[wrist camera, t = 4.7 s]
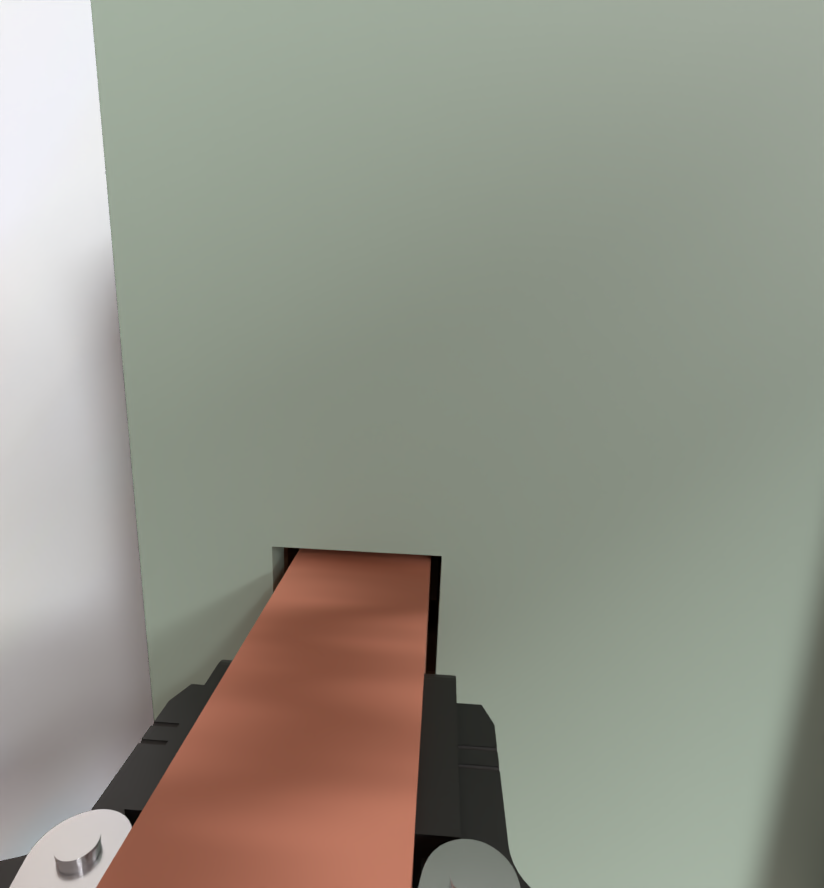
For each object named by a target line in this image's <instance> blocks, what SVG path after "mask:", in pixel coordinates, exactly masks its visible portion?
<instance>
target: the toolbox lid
mask: <svg viewBox="0 0 824 888" xmlns="http://www.w3.org/2000/svg"><path fill="white" fill-rule="evenodd" d="M91 9H92V21H93V32H94V44H95V55H96V66H97V78H98V89H99V100H100V112H101V123H102V135H103V146H104V157H105V169H106V180H107V192H108V203H109V214H110V226H111V237H112V248H113V260H114V271H115V283H116V294H117V305H118V317H119V328H120V340H121V351H122V362H123V374H124V385H125V396H126V408H127V419H128V431H129V442H130V453H131V465H132V476H133V488H134V499H135V510H136V522H137V533H138V544H139V556H140V567H141V579H142V590H143V601H144V613H145V624H146V636H147V647H148V658H149V670H150V681H151V692H152V704H153V715H154V721H155V720H156V718H157V717H158V715H159V714H160V713H161V711H162V710H163V708H164V707H165V705H166V704H167V703H168V701H169V700H171V699H172V698H173V697H175V696H176V695H177V694H179V693H180V692H181V691H183V690H184V689H185V688H187V687H188V686H189V685H191V684H199V685H205V683H206V682H207V680H208V678H209V677H210V675H211V674H212V672H213V671H214V669H215V668H216V666H217V665H218V663H219V662H220V661H221V660H233V659H234V657H235V656H236V654H237V652H238V651H239V649H240V647H241V646H242V644H243V642H244V641H245V639H246V637H247V636H248V634H249V632H250V631H251V629H252V627H253V626H254V624H255V622H256V621H257V619H258V618H259V616H260V614H261V613H262V611H263V609H264V608H265V606H266V604H267V603H268V601H269V599H270V598H271V596H272V594H273V593H274V591H275V589H276V588H277V586H278V584H279V583H280V581H281V579H282V578H283V576H284V547H289V548H307V549H325V550H343V551H361V552H378V553H396V554H414V555H432V556H441V569H440V589H439V608H438V628H437V647H436V667H435V674H440V675H455V676H456V696H457V703H465V704H479V705H482V706H483V708H484V709H485V711H486V712H487V714H488V715H489V717H490V719H491V720H492V722H493V723H494V725H495V734H496V742H497V752H498V759H499V771H500V776H501V785H502V794H503V802H504V811H505V819H506V828H507V836H508V845H509V850H510V855H511V858H512V861H513V863H514V865H515V867H516V869H517V871H518V873H519V874H520V875H521V877H522V878H523V880H524V881H525V882H526V883H527V884H528V885H529V886H530V888H824V0H91Z"/></svg>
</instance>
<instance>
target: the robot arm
mask: <svg viewBox="0 0 824 888" xmlns="http://www.w3.org/2000/svg"><path fill="white" fill-rule="evenodd" d="M232 661H233V660H221V661H220V662H219V663H218V665H217V666H216V668H215V669H214V671H213V672H212V674H211V675H210V677H209V678H208V680H207V682H206V683H205V685H199V684H191V685H189V686H188V687H187V688H185V689H184V690H183V691H181V692H180V693H179V694H177V695H176V696H175V697H173V698H172V699H171V700H169V701H168V703H167V704H166V705H165V707H164V708H163V710H162V711H161V713H160V714H159V715H158V717H157V718H156V720H155V721H154V725H153V726H151V727H150V728H149V729H148V731H147V732H146V734H145V735H144V736H143V738H142V741H141V743H138V745H137V746H136V748H135V749H134V750H133V752H132V753H131V755H130V756H129V758H128V759H127V760H126V762H125V763H124V765H123V766H122V767H121V769H120V770H119V772H118V773H117V774H116V776H115V777H114V779H113V780H112V781H111V783H110V784H109V786H108V787H107V788H106V790H105V791H104V793H103V794H102V795H101V797H100V798H99V800H98V801H97V803H96V804H95V805H94V807H93V808H92V810H91V811H87V812H83V813H80V814H78V815H75V816H73V817H70V818H69V819H67V820H65V821H63V822H61V823H60V824H58V825H57V826H55V827H53V828H52V829H51V830H50V831H48V832H47V833H46V834H45V835H44V836H43V837H42V838H41V839H40V840H39V841H38V842H37V843H36V844H35V845H34V846H33V848H32V849H31V850H30V852H29V853H28V855H24V856H21V857H17V858H12V859H8V860H3V861H0V888H96V887H97V885H98V883H99V882H100V880H101V878H102V877H103V875H104V873H105V872H106V870H107V868H108V867H109V865H110V863H111V862H112V860H113V858H114V857H115V855H116V853H117V852H118V850H119V848H120V847H121V845H122V843H123V842H124V840H125V838H126V837H127V835H128V833H129V832H130V830H131V828H132V827H133V825H134V823H135V822H136V820H137V818H138V817H139V815H140V813H141V812H142V810H143V809H144V807H145V805H146V804H147V802H148V800H149V799H150V797H151V795H152V794H153V792H154V790H155V789H156V787H157V785H158V784H159V782H160V780H161V779H162V777H163V775H164V774H165V772H166V770H167V769H168V767H169V765H170V764H171V762H172V760H173V759H174V757H175V755H176V754H177V752H178V750H179V749H180V747H181V745H182V744H183V742H184V740H185V739H186V737H187V735H188V734H189V732H190V730H191V729H192V727H193V725H194V724H195V722H196V720H197V719H198V717H199V715H200V714H201V712H202V711H203V709H204V707H205V706H206V704H207V702H208V701H209V699H210V697H211V696H212V694H213V692H214V691H215V689H216V687H217V686H218V684H219V682H220V681H221V679H222V677H223V676H224V674H225V672H226V671H227V669H228V667H229V666H230V664H231V662H232ZM412 888H530V886H529V885H528V884H527V883H526V882H525V881H524V880H523V878H522V877H521V875H520V874H519V873H518V871H517V869H516V867H515V865H514V863H513V861H512V858H511V855H510V850H509V845H508V836H507V828H506V819H505V811H504V802H503V794H502V785H501V776H500V771H499V759H498V752H497V742H496V734H495V725H494V723H493V722H492V720H491V719H490V717H489V715H488V714H487V712H486V711H485V709H484V708H483V706H482V705H479V704H465V703H457V696H456V676H455V675H440V674H426V673H424V686H423V703H422V720H421V736H420V753H419V770H418V787H417V804H416V820H415V838H414V862H413V885H412Z"/></svg>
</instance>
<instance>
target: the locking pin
mask: <svg viewBox="0 0 824 888" xmlns="http://www.w3.org/2000/svg"><path fill="white" fill-rule="evenodd" d="M431 559H432V555H414V554H396V553H378V552H361V551H343V550H325V549H307V548H300V549H299V551H298V553H297V554H296V556H295V558H294V559H293V561H292V563H291V564H290V566H289V568H288V569H287V571H286V573H285V574H284V576H283V578H282V579H281V581H280V583H279V584H278V586H277V588H276V589H275V591H274V593H273V594H272V596H271V598H270V599H269V601H268V603H267V604H266V606H265V608H264V609H263V611H262V613H261V614H260V616H259V618H258V619H257V621H256V622H255V624H254V626H253V627H252V629H251V631H250V632H249V634H248V636H247V637H246V639H245V641H244V642H243V644H242V646H241V647H240V649H239V651H238V652H237V654H236V656H235V657H234V659H233V661H232V662H231V664H230V666H229V667H228V669H227V671H226V672H225V674H224V676H223V677H222V679H221V681H220V682H219V684H218V686H217V687H216V689H215V691H214V692H213V694H212V696H211V697H210V699H209V701H208V702H207V704H206V706H205V707H204V709H203V711H202V712H201V714H200V715H199V717H198V719H197V720H196V722H195V724H194V725H193V727H192V729H191V730H190V732H189V734H188V735H187V737H186V739H185V740H184V742H183V744H182V745H181V747H180V749H179V750H178V752H177V754H176V755H175V757H174V759H173V760H172V762H171V764H170V765H169V767H168V769H167V770H166V772H165V774H164V775H163V777H162V779H161V780H160V782H159V784H158V785H157V787H156V789H155V790H154V792H153V794H152V795H151V797H150V799H149V800H148V802H147V804H146V805H145V807H144V809H143V810H142V812H141V813H140V815H139V817H138V818H137V820H136V822H135V823H134V825H133V827H132V828H131V830H130V832H129V833H128V835H127V837H126V838H125V840H124V842H123V843H122V845H121V847H120V848H119V850H118V852H117V853H116V855H115V857H114V858H113V860H112V862H111V863H110V865H109V867H108V868H107V870H106V872H105V873H104V875H103V877H102V878H101V880H100V882H99V883H98V885H97V887H96V888H412V885H413V862H414V838H415V820H416V804H417V787H418V770H419V753H420V736H421V720H422V703H423V686H424V673H426V658H427V640H428V622H429V603H430V581H431Z"/></svg>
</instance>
